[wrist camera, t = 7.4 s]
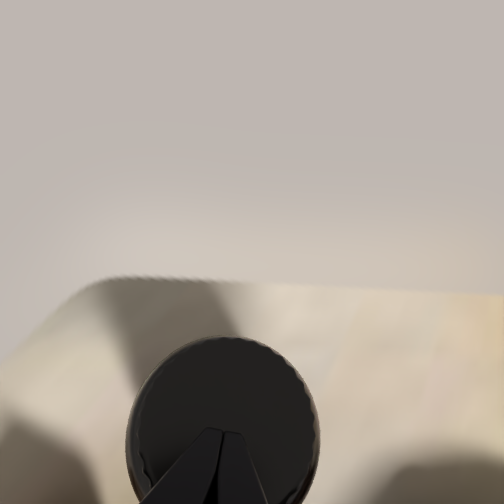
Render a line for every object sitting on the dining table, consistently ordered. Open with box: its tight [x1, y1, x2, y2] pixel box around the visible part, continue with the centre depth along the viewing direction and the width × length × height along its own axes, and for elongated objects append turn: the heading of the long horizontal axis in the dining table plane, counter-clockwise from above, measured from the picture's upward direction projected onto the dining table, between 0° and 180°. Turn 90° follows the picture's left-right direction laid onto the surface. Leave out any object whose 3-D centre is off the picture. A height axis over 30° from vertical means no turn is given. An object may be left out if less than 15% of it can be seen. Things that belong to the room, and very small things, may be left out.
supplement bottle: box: [125, 335, 320, 504], centre depth 15 cm, size 7×7×12 cm
